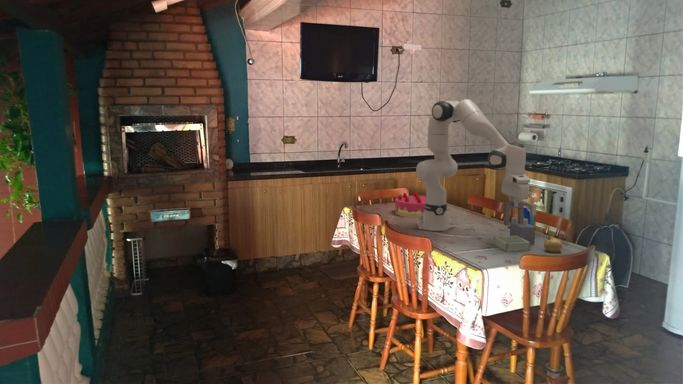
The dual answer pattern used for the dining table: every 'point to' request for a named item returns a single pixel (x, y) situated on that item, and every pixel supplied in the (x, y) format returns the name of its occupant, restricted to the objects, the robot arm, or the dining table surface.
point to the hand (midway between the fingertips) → (513, 206)
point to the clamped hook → (529, 205)
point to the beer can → (529, 216)
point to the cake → (410, 205)
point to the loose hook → (510, 206)
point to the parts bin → (511, 243)
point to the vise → (522, 230)
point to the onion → (553, 245)
